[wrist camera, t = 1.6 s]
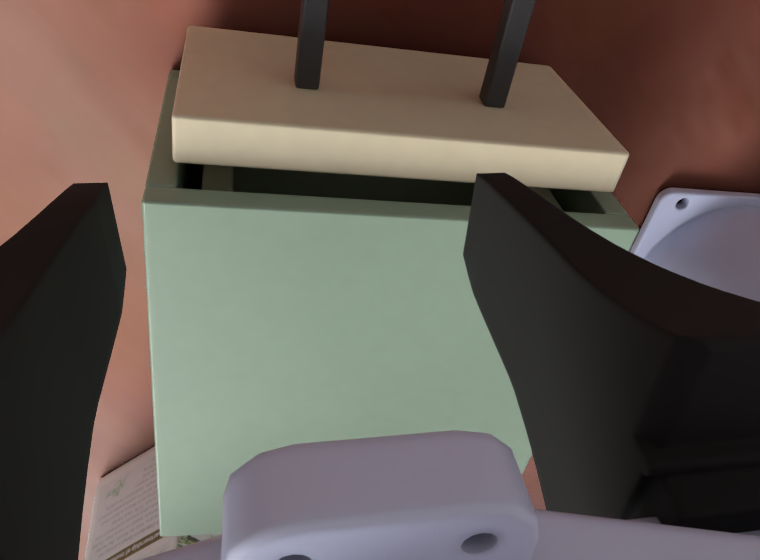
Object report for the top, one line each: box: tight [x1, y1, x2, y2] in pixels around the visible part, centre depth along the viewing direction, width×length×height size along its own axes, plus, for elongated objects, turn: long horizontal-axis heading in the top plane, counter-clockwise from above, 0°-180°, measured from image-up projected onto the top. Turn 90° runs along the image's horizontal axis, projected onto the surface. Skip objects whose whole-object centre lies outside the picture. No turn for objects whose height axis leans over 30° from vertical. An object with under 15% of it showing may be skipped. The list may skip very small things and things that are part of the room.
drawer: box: [172, 0, 629, 212], centre depth 20 cm, size 17×11×6 cm, turn 170°
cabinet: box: [142, 70, 639, 537], centre depth 23 cm, size 13×12×8 cm
